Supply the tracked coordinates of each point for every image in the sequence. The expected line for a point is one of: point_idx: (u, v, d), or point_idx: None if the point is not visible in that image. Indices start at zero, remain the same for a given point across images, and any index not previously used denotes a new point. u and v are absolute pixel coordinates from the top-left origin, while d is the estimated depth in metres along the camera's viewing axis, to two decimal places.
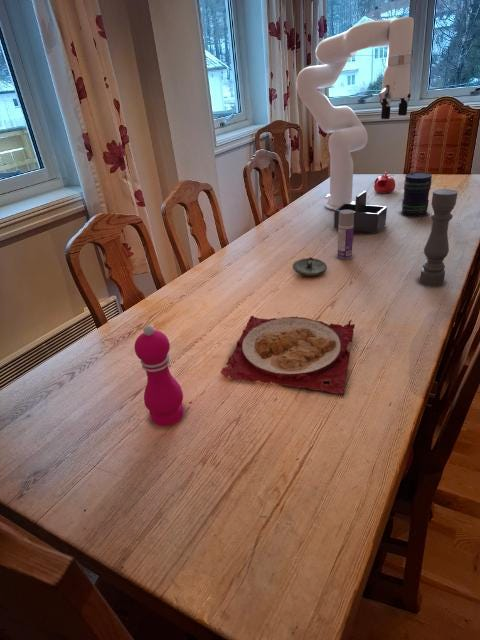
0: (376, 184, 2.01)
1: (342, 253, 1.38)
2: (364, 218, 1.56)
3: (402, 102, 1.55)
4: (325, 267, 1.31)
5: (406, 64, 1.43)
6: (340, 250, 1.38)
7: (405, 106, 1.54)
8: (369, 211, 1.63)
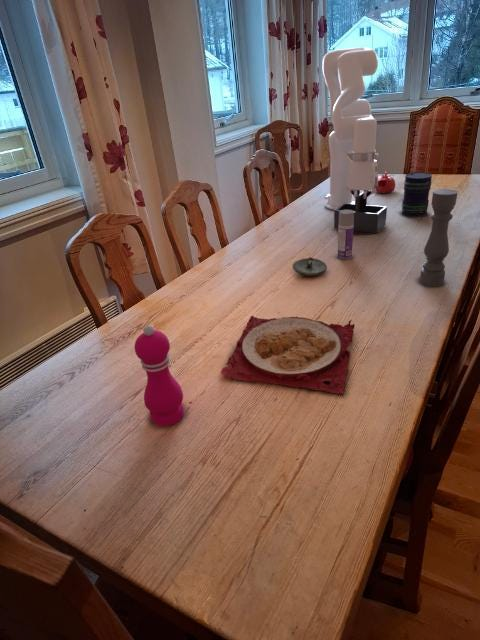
0: None
1: (342, 253, 1.38)
2: (364, 218, 1.56)
3: (363, 195, 1.57)
4: (325, 267, 1.31)
5: (357, 161, 1.49)
6: (340, 250, 1.38)
7: (361, 202, 1.58)
8: (369, 211, 1.63)
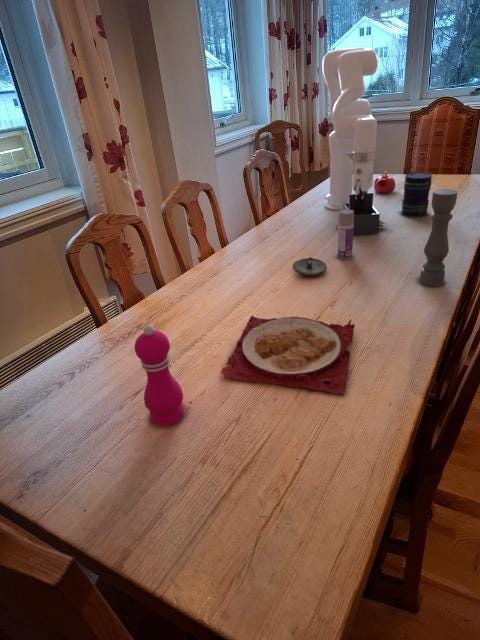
0: (376, 184, 2.01)
1: (342, 253, 1.38)
2: None
3: None
4: (325, 267, 1.31)
5: None
6: (340, 250, 1.38)
7: None
8: None
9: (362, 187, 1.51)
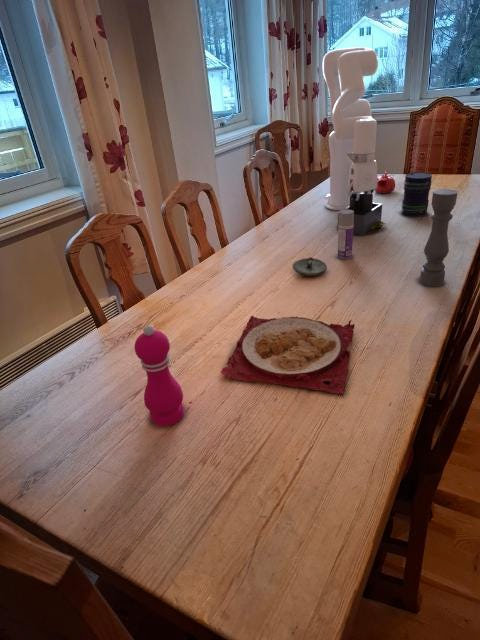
0: None
1: (342, 253, 1.38)
2: None
3: None
4: (325, 267, 1.31)
5: None
6: (340, 250, 1.38)
7: None
8: None
9: (353, 188, 1.53)
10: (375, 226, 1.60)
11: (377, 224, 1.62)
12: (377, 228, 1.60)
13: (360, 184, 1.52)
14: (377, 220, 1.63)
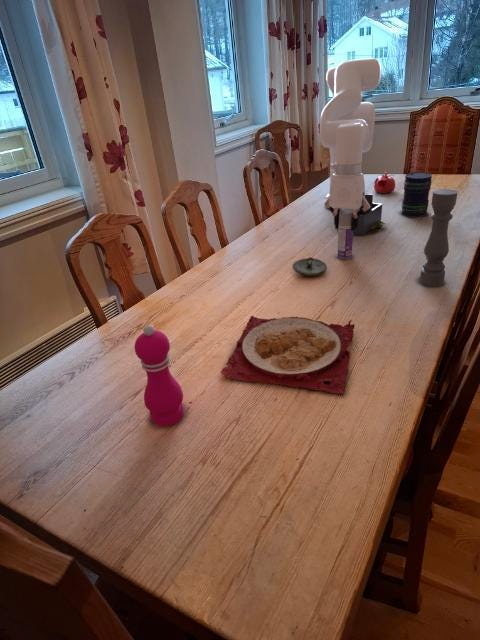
0: (376, 184, 2.01)
1: (342, 253, 1.38)
2: None
3: (338, 213, 1.35)
4: (325, 267, 1.31)
5: None
6: (340, 250, 1.38)
7: None
8: None
9: None
10: (375, 226, 1.60)
11: (377, 224, 1.62)
12: (377, 228, 1.60)
13: (333, 198, 1.31)
14: (377, 220, 1.63)
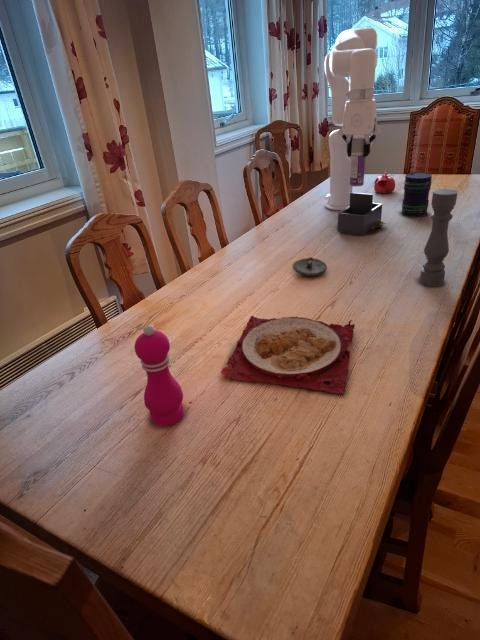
0: (376, 184, 2.01)
1: (355, 180, 1.47)
2: None
3: (351, 141, 1.43)
4: (325, 267, 1.31)
5: None
6: (353, 178, 1.47)
7: None
8: None
9: None
10: (375, 226, 1.60)
11: (377, 224, 1.62)
12: (377, 228, 1.60)
13: (347, 125, 1.39)
14: (377, 220, 1.63)
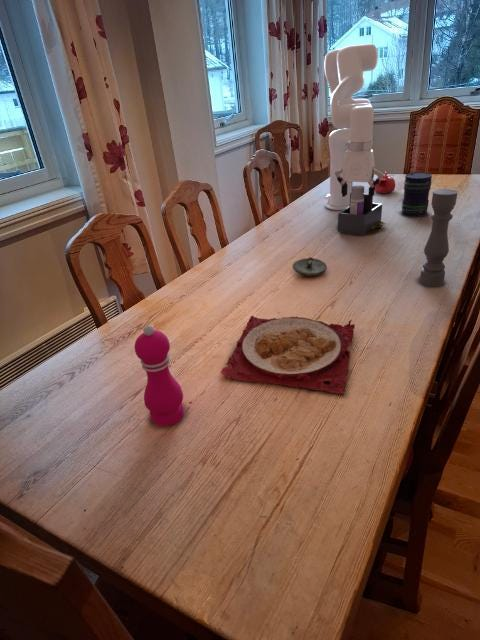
0: None
1: None
2: None
3: (345, 184, 1.55)
4: (325, 267, 1.31)
5: None
6: None
7: (347, 187, 1.56)
8: None
9: None
10: (375, 226, 1.60)
11: (377, 224, 1.62)
12: (377, 228, 1.60)
13: (347, 172, 1.50)
14: (377, 220, 1.63)
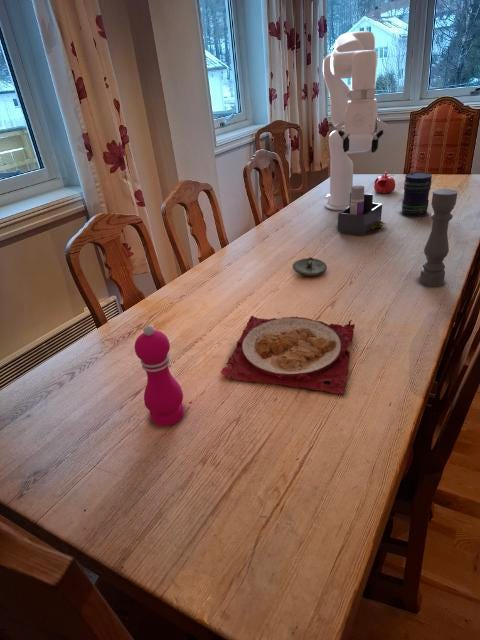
0: (376, 184, 2.01)
1: None
2: None
3: (347, 138, 1.47)
4: (325, 267, 1.31)
5: None
6: None
7: (348, 142, 1.49)
8: None
9: None
10: (375, 226, 1.60)
11: (377, 224, 1.62)
12: (377, 228, 1.60)
13: (349, 124, 1.42)
14: (377, 220, 1.63)
